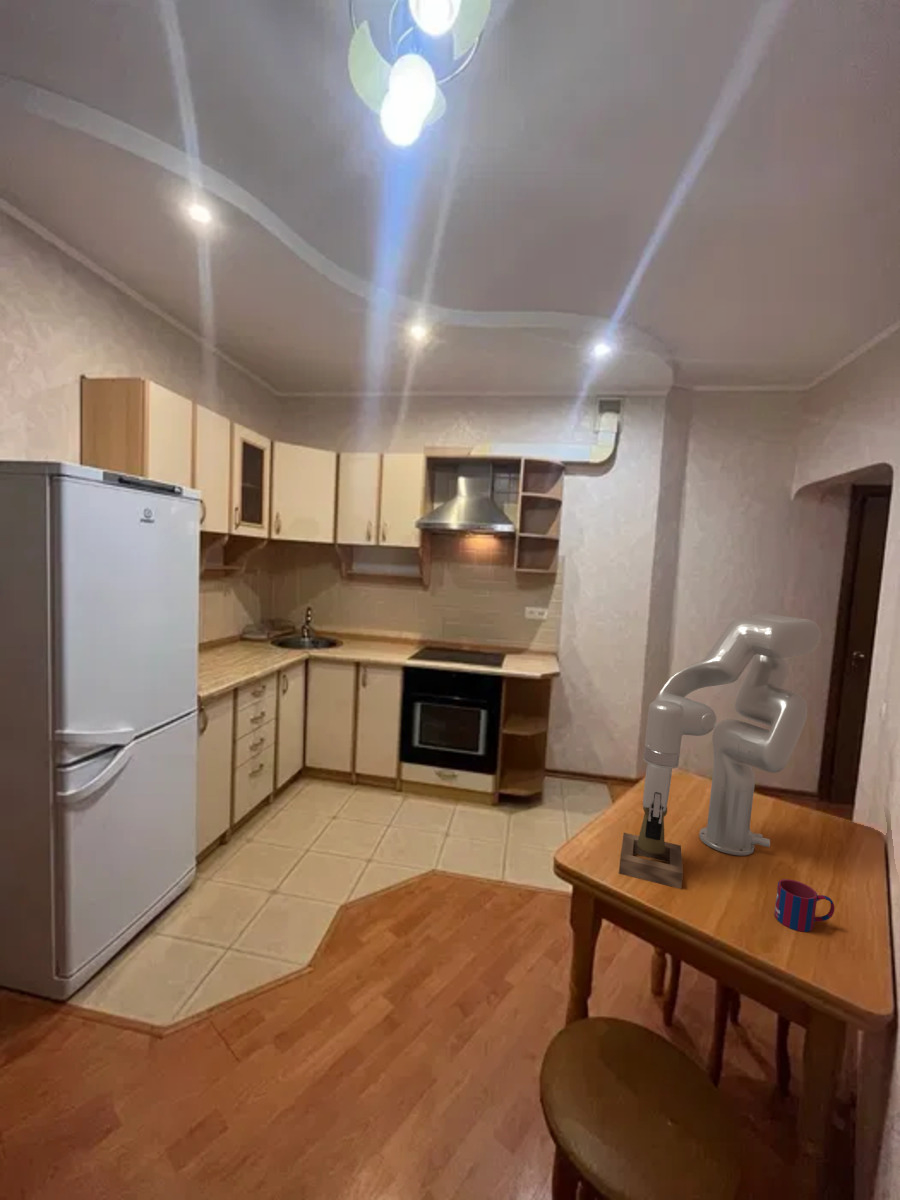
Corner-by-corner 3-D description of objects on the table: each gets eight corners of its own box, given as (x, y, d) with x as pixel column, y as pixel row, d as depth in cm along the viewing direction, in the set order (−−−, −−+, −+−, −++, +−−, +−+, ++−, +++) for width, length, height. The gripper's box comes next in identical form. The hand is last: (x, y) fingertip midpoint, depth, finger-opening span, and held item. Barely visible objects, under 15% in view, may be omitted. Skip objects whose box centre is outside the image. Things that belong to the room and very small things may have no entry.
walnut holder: (679, 859, 134) (680, 845, 133) (681, 888, 122) (682, 873, 121) (622, 846, 138) (623, 832, 138) (618, 873, 126) (620, 858, 126)
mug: (771, 906, 117) (775, 875, 117) (827, 921, 114) (832, 889, 113) (777, 925, 111) (781, 893, 111) (836, 941, 108) (841, 907, 107)
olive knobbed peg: (667, 855, 126) (672, 808, 125) (638, 850, 127) (643, 803, 126) (662, 842, 132) (667, 797, 131) (635, 838, 133) (640, 793, 132)
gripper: (644, 742, 137) (636, 815, 138) (642, 764, 121) (634, 846, 123) (677, 748, 134) (669, 822, 136) (680, 771, 119) (670, 855, 120)
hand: (652, 833), depth 129 cm, fingers closed on olive knobbed peg, 4 cm apart
